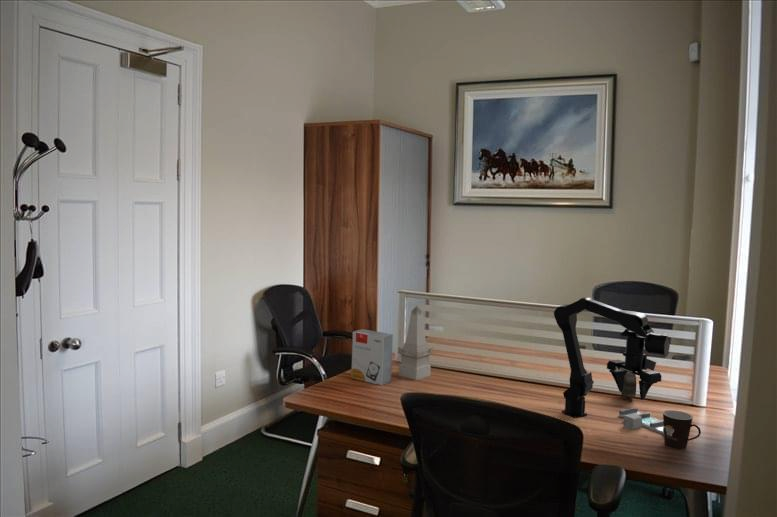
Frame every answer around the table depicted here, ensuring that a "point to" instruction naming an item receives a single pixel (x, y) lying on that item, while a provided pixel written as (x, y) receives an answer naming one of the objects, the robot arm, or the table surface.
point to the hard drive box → (371, 356)
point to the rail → (645, 419)
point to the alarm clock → (629, 385)
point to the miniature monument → (415, 349)
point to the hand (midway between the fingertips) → (631, 395)
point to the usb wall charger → (632, 421)
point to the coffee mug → (677, 429)
